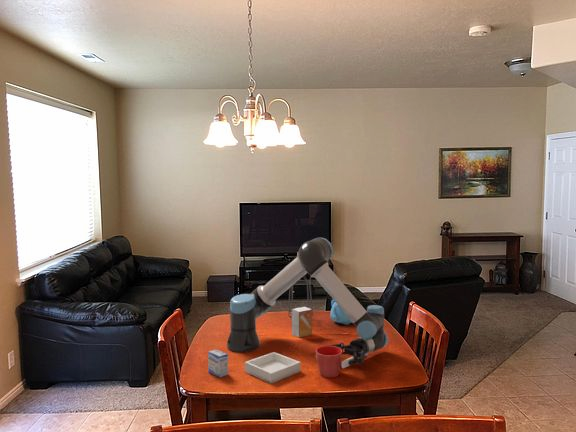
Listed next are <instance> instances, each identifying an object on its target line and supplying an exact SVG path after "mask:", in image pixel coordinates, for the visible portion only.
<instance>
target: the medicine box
mask: <svg viewBox="0 0 576 432" xmlns="http://www.w3.org/2000/svg"><path fill="white" fill-rule="evenodd" d="M207 364H208V365H207V366H208V367H207V368H208V370H207V372H208V373H209V374H211V375H214V376H215V377H217V378H222V377H225V376H228V375H229V355H228V353H226V352H223V351H221V350H219V349H212V350H209V351H207Z"/></svg>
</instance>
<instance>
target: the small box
mask: <svg viewBox="0 0 576 432" xmlns="http://www.w3.org/2000/svg"><path fill="white" fill-rule="evenodd" d="M291 311H292V312H291V314H292V315H291V316H292V317H291V334H292V335H293V336H294V337H297V338H302V337H307V336H312V334H313V333H312V332H313V328H312V327H313V316H312V309H311V307H309V308H308V306H301V307H296V308H293V309H292V308H291Z"/></svg>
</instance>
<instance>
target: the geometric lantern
mask: <svg viewBox="0 0 576 432" xmlns="http://www.w3.org/2000/svg"><path fill="white" fill-rule="evenodd" d="M289 264H290V263H288V264H287V265H289ZM287 265H285V266H284V268H285V267H286V266H287ZM307 274H308V272H307V273H306V274H305V275H304V276H303V277H302V278H303V279H299V280H298V281H297V282H302V281H305V283H294V284H293V285H292V286H291V287H290V288H289V289H288V290H289V292H288V293H289V294H288V311H287V312H288V315H287V316H288V318H290V319H292V309H294V300H293V299H294V286H299V285H300V286H301V285H302V286H303V285H306V293H307V294H306V295H307V308H310V309H312V317H313V316H314V311H313V298H312V296H313V295H312V286H311V284H312V282H311V281H312V280H311V279H312V277H311V276H310V275H309V276H310V277H309V279H307V277H306V275H307ZM290 307H291V310H290Z"/></svg>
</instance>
